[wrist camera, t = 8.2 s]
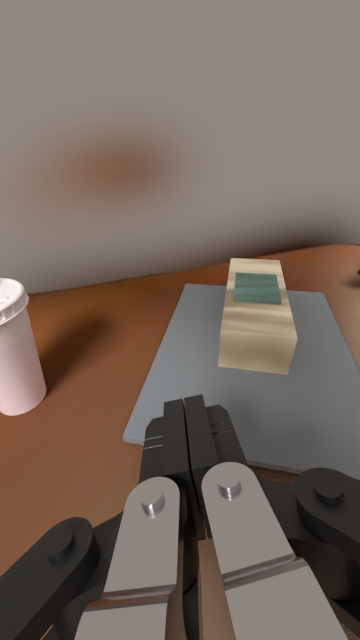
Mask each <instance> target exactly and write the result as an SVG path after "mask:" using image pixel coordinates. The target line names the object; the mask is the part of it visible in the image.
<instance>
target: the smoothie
mask: <svg viewBox="0 0 360 640" xmlns="http://www.w3.org/2000/svg"><path fill="white" fill-rule="evenodd" d="M28 301H29V297H28V295H27V293H26V292H25V290H24V287H23V285H22V284H21V283H20V282H18V281H15V280H13V279H7V278H0V411H1V412H2V413H3V414H5V415H11V416H13V415H20V414H23V413H26V412H28V411H30V410H32V409H33V408H35V407H36V406H37V405H38V404H39V403H40V402H41V401H42V400H43V399H44V397H45V395H46V385H45V381H44V377H43V373H42V369H41V365H40V361H39V357H38V353H37V349H36V345H35V341H34V337H33V333H32V329H31V325H30V320H29V316H28V313H27V309H26V306H27V304H28Z"/></svg>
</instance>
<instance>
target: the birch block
mask: <svg viewBox="0 0 360 640" xmlns="http://www.w3.org/2000/svg"><path fill="white" fill-rule="evenodd" d="M297 339H298V338H297V333H296V329H295V325H294V321H293V316H292V312H291V308H290V303H289V299H288V295H287V291H286V286H285V282H284V278H283V274H282V269H281V265H280V261H279V260H260V259H239V258H231V262H230V269H229V275H228V282H227V289H226V296H225V303H224V310H223V317H222V324H221V331H220V346H219V361H218V366H219V367H227V368H236V369H244V370H252V371H260V372H268V373H276V374H284V375H288V372H289V369H290V365H291V361H292V358H293V354H294V350H295V347H296V343H297Z"/></svg>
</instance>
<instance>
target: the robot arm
mask: <svg viewBox="0 0 360 640" xmlns="http://www.w3.org/2000/svg"><path fill="white" fill-rule="evenodd" d="M184 403H185V405H184ZM143 449H144V450H143V454H142V462H141V470H140V478H139V485H138V486H136V487H135V488H134V489H133V491H132V492H131V493H130V495H129V497H128V498H127V501H126V504H125V508H124V510H123V511H122V512H121V513H119V514H118V515H117V516H115V517H113V518H111V519H110V520H108V521H106V522H104V523H102V524H100V525H98V526H96V527H94V528H92V526H91V524H90V522H89V521H88V520H86V519H84V518H81V517H74V518H69V519H66V520H64V521H62V522H60V523H58V524H57V525H55V526H54V527H52V528H51V529H50V530H49V531H48V532H46V533H45V534H44V535H43V536H42V537H41V538H40V539H39V540H38V541H37V542H36V543H35V544H34V545H33V546H32V547H31V548H30V549H29V550H28V551H27V552H26V553H25V554H24V555H23V556H22V557H21V558H20V559H19V560H17V561H16V562H15V563H14V564H13V565H12V566H11V567H10V568H9V569H8V570H7V571H6V572H5V573H4V574H3V575H2V576H1V577H0V640H40V639H41V638H42V636H43V635H44V634H45V633H46V631H47V630H48V629H49V628H50V626H51V625H52V624H53V627H52V628H51V629H50V631H49V632H48V633H47V634H46V636H45V637H44V638H43V639H42V640H203V616H202V589H201V572H200V568H199V550H198V541H199V540H204V539H206V535H205V527H204V522H205V526H206V531H207V535H208V538H213V541H214V545H215V549H216V554H217V558H218V562H219V567H220V571H221V575H222V580H223V584H224V589H225V593H226V597H227V602H228V606H229V610H230V615H231V619H232V623H233V628H234V632H235V636H236V640H348V639H347V637H346V635H345V633H344V631H343V629H342V627H341V625H340V623H339V621H340V622H341V623H342V624H344V625H345V626H346V627H347V628H348V629H350V630H351V631H352V632H353V633H354V634H355V635H357V636H358V637H359V638H360V480H357V479H355V478H353V477H351V476H348V475H346V474H344V473H342V472H339V471H337V470H334V469H330V468H321V467H318V468H311V469H308V470H306V471H304V472H302V473H301V474H300V475H299V476H298V477H297V479H296V481H295V484H289V483H278V482H272V481H268V480H266V479H263V478H261V477H259V476H258V475H257V474H255V473H254V472H253V471H252V470H251V469H250V467H249V466H248V464H247V461H246V459H245V456H244V453H243V451H242V448H241V445H240V443H239V440H238V437H237V435H236V432H235V430H234V427H233V424H232V422H231V419H230V416H229V413H228V411H227V410H226V409H224V408H223V407H222V406H221V405H219V404H218V405H214V406H209V407H205V403H204V399H203V394H200V395H195V396H191V397H186V398H184V401H183V398H182V399H177V400H172V401H168V402H164V410H163V416H162V417H158V418H153V419H152V420H151V422H150V423H149V425H148V426H147V428H146V431H145V441H144V446H143ZM203 518H204V520H203ZM338 620H339V621H338Z"/></svg>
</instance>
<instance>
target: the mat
mask: <svg viewBox="0 0 360 640" xmlns="http://www.w3.org/2000/svg"><path fill="white" fill-rule="evenodd" d="M226 289H227V286H216V285H201V284H186V285H185V287H184V290H183V292H182V295H181V297H180V299H179V302H178V304H177V307H176V309H175V311H174V314H173V316H172V319H171V321H170V323H169V326H168V328H167V331H166V333H165V335H164V338H163V340H162V343H161V345H160V348H159V350H158V352H157V355H156V357H155V360H154V362H153V364H152V367H151V369H150V372H149V374H148V376H147V379H146V381H145V384H144V386H143V388H142V391H141V393H140V396H139V398H138V400H137V403H136V405H135V408H134V410H133V412H132V415H131V417H130V420H129V422H128V425H127V427H126V429H125V432H124V434H123V441H124V442H128V443H133V444H139V445H144V441H145V431H146V428H147V426H148V425H149V423H150V422H151V420H152V419H153V418H158V417H162V416H163V410H164V402H168V401H172V400H177V399H182V398H183V401H184V398H186V397H191V396H195V395H200V394H203V399H204V403H205V407H209V406H214V405H218V404H219V405H221V406H222V407H223V408H224V409H226V410H227V411H228V413H229V416H230V419H231V422H232V424H233V427H234V430H235V432H236V435H237V437H238V440H239V443H240V445H241V448H242V451H243V453H244V456H245V459H246V461H247V464H248V465H252V466H257V467H262V468H268V469H273V470H278V471H284V472H289V473H295V474H301V473H302V472H304V471H306V470H308V469H311V468H318V467H321V468H330V469H334V470H337V471H339V472H342V473H344V474H346V475H348V476H351V477H353V478H355V479H357V480H360V372H359V370H358V368H357V366H356V364H355V361H354V359H353V357H352V355H351V353H350V351H349V348H348V346H347V344H346V342H345V340H344V337H343V335H342V333H341V331H340V329H339V326H338V324H337V322H336V320H335V318H334V316H333V313H332V311H331V309H330V307H329V305H328V302H327V300H326V298H325V296H324V294H323V293H319V292H305V291H290V290H286V291H287V295H288V299H289V303H290V308H291V312H292V316H293V321H294V325H295V329H296V333H297V338H298V339H297V343H296V347H295V350H294V354H293V358H292V361H291V365H290V369H289V372H288V375H284V374H276V373H268V372H260V371H252V370H244V369H236V368H227V367H219V366H218V361H219V346H220V331H221V324H222V317H223V310H224V303H225V296H226ZM184 405H185V403H184Z"/></svg>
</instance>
